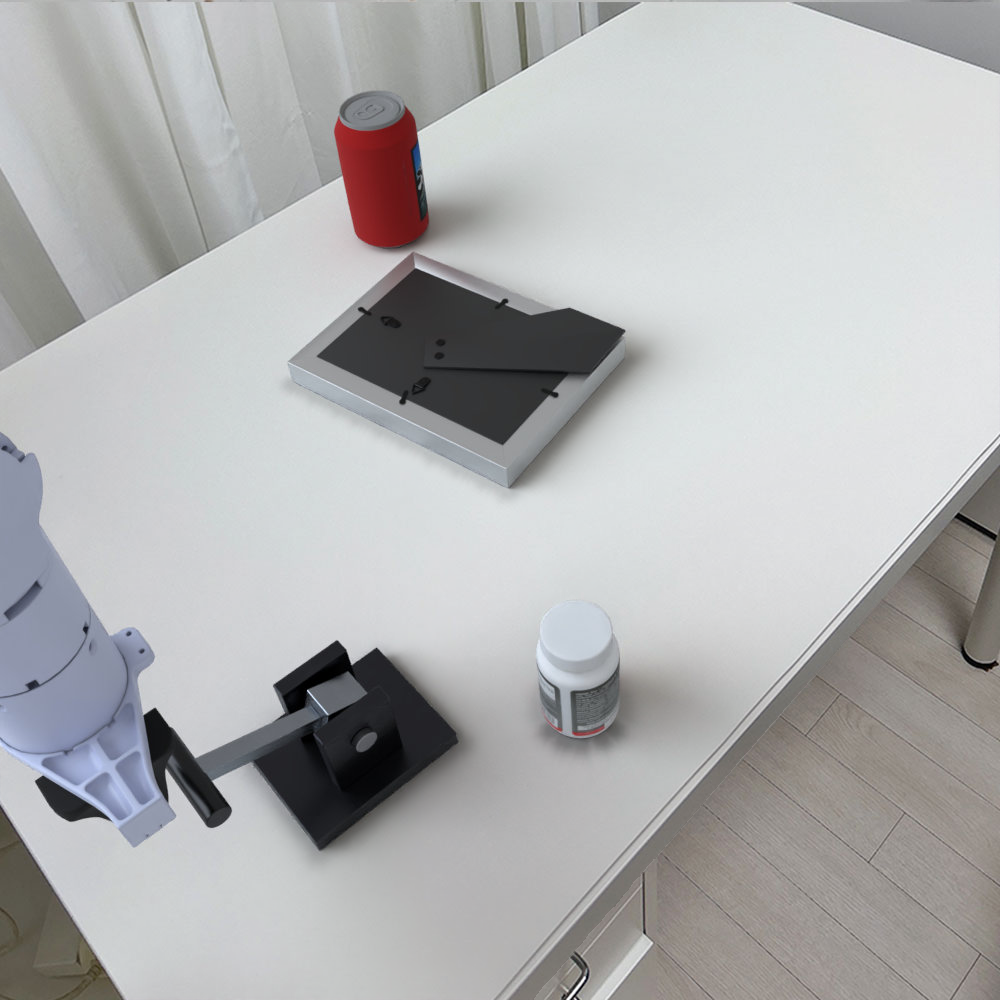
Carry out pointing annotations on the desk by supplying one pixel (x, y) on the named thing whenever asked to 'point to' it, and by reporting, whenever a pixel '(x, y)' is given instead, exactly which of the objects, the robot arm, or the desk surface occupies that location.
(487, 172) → the desk surface
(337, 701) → the tap lever
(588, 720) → the pill bottle
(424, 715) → the bracket
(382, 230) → the beverage can
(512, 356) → the picture frame
